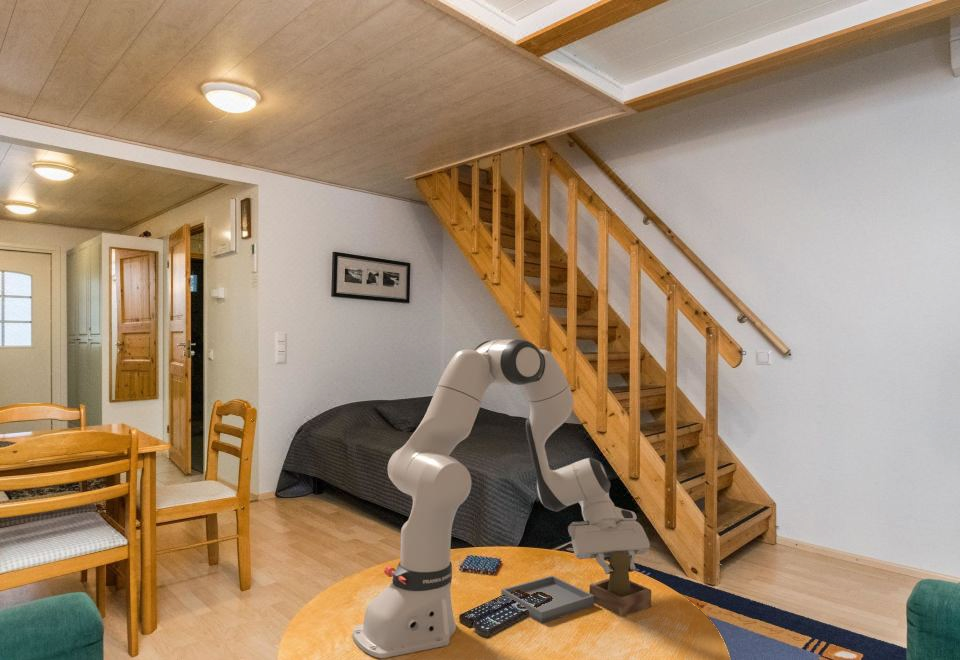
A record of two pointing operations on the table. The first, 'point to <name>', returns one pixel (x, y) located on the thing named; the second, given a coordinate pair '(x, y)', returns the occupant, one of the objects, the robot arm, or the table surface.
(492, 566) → the woven mat
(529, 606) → the tray
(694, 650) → the table surface
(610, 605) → the holder
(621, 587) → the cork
